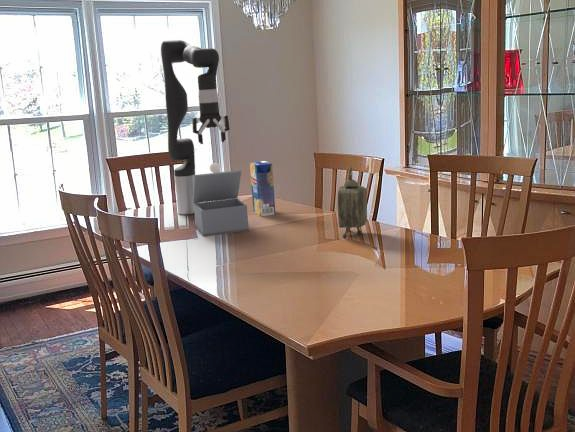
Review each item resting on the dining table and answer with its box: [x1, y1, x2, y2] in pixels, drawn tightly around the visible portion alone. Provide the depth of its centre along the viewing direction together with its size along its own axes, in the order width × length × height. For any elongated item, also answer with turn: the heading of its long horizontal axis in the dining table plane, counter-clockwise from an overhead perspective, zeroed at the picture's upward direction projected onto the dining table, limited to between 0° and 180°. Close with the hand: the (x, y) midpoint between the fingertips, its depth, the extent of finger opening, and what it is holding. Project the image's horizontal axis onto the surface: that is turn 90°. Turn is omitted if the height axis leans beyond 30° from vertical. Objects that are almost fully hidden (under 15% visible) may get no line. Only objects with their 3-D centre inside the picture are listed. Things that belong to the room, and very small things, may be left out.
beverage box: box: [249, 160, 276, 217], centre depth 281 cm, size 7×11×22 cm, turn 18°
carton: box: [194, 198, 250, 237], centre depth 258 cm, size 16×18×10 cm
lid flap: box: [193, 162, 242, 203], centre depth 260 cm, size 16×18×8 cm
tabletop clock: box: [337, 166, 368, 239], centre depth 235 cm, size 14×9×25 cm, turn 168°
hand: (212, 142), depth 256 cm, fingers open, 8 cm apart
